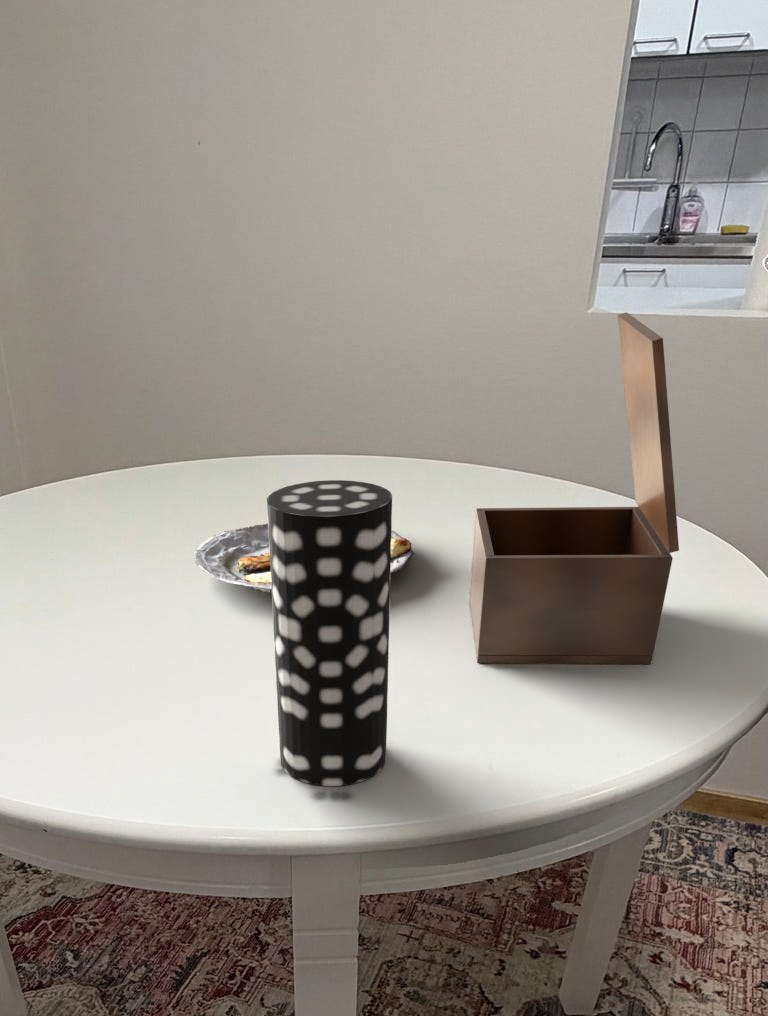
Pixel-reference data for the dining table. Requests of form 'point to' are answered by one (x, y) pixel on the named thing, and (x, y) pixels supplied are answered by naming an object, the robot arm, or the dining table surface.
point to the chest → (566, 585)
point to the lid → (649, 426)
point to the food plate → (263, 556)
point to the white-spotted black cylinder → (331, 627)
